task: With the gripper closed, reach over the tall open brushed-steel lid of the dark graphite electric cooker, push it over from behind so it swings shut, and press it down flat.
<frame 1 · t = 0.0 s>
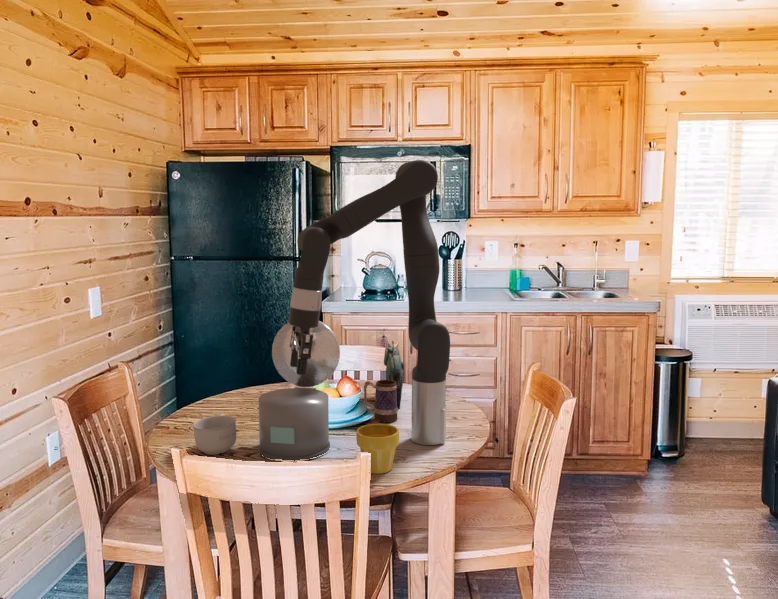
hand: (297, 370, 160), 22 cm above the table, tool pointing down, fingers open, 8 cm apart
cooker lid: (306, 347, 176), point 25 cm above the table, hinge at 95.0°
mug: (380, 420, 192), on the table
plant pot: (377, 469, 155), on the table
cooker: (294, 448, 167), on the table
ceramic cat: (394, 401, 211), on the table
teacup: (218, 449, 168), on the table
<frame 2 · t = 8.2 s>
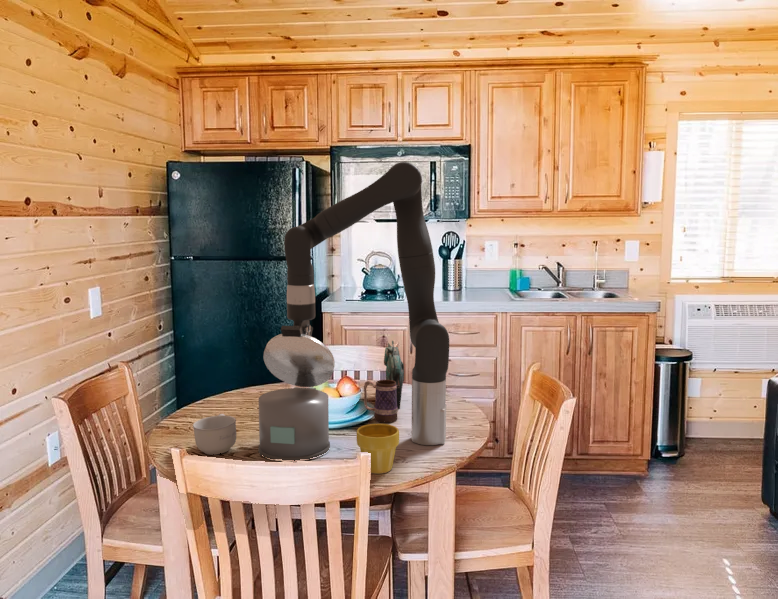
hand: (302, 364, 172), 21 cm above the table, tool pointing down, fingers closed
cooker lid: (298, 355, 169), point 24 cm above the table, hinge at 57.3°, touching gripper
everything else where it was.
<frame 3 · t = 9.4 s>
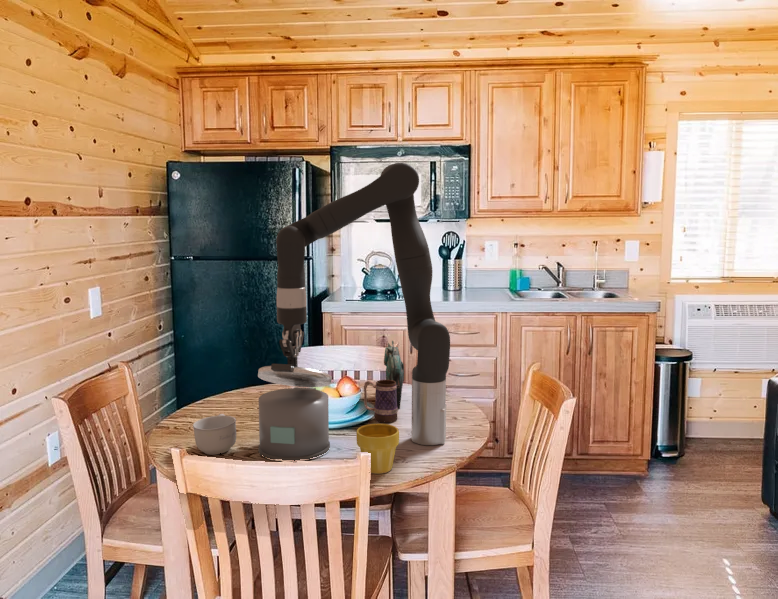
hand: (292, 370, 164), 21 cm above the table, tool pointing down, fingers closed
cooker lid: (294, 373, 165), point 20 cm above the table, hinge at 26.2°, touching gripper
everything else where it was.
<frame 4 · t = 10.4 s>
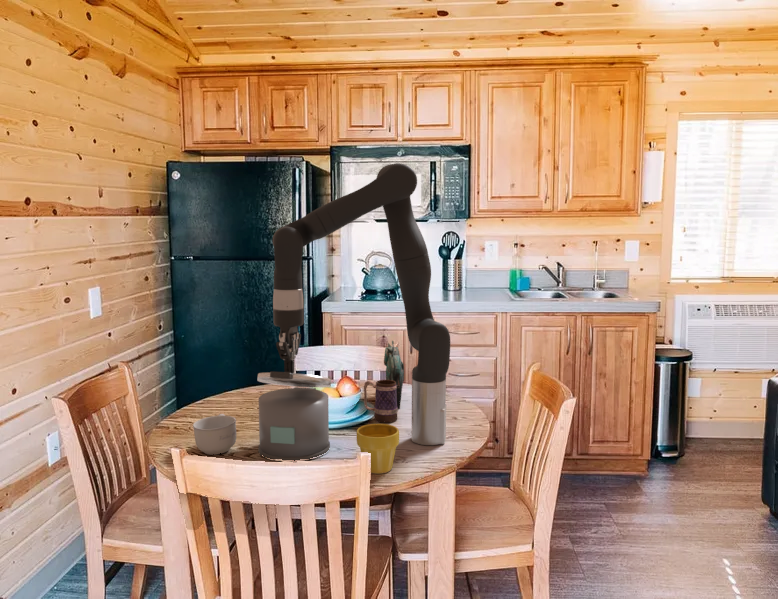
hand: (289, 373, 162), 21 cm above the table, tool pointing down, fingers closed
cooker lid: (293, 377, 165), point 19 cm above the table, hinge at 21.0°, touching gripper
everything else where it was.
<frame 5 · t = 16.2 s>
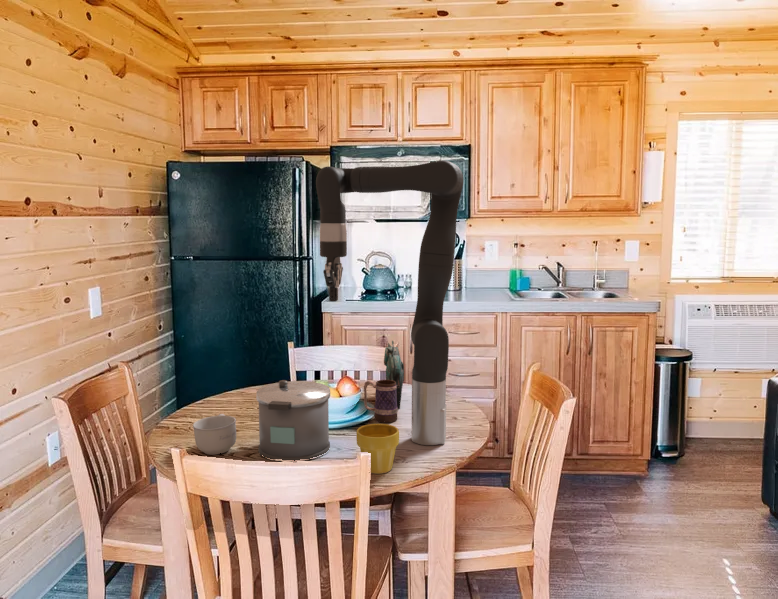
hand: (333, 301, 180), 37 cm above the table, tool pointing down, fingers closed
cooker lid: (292, 392, 164), point 16 cm above the table, hinge at 0.0°
everything else where it was.
at the end: cooker lid at +0° (first picture: +95°) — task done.
